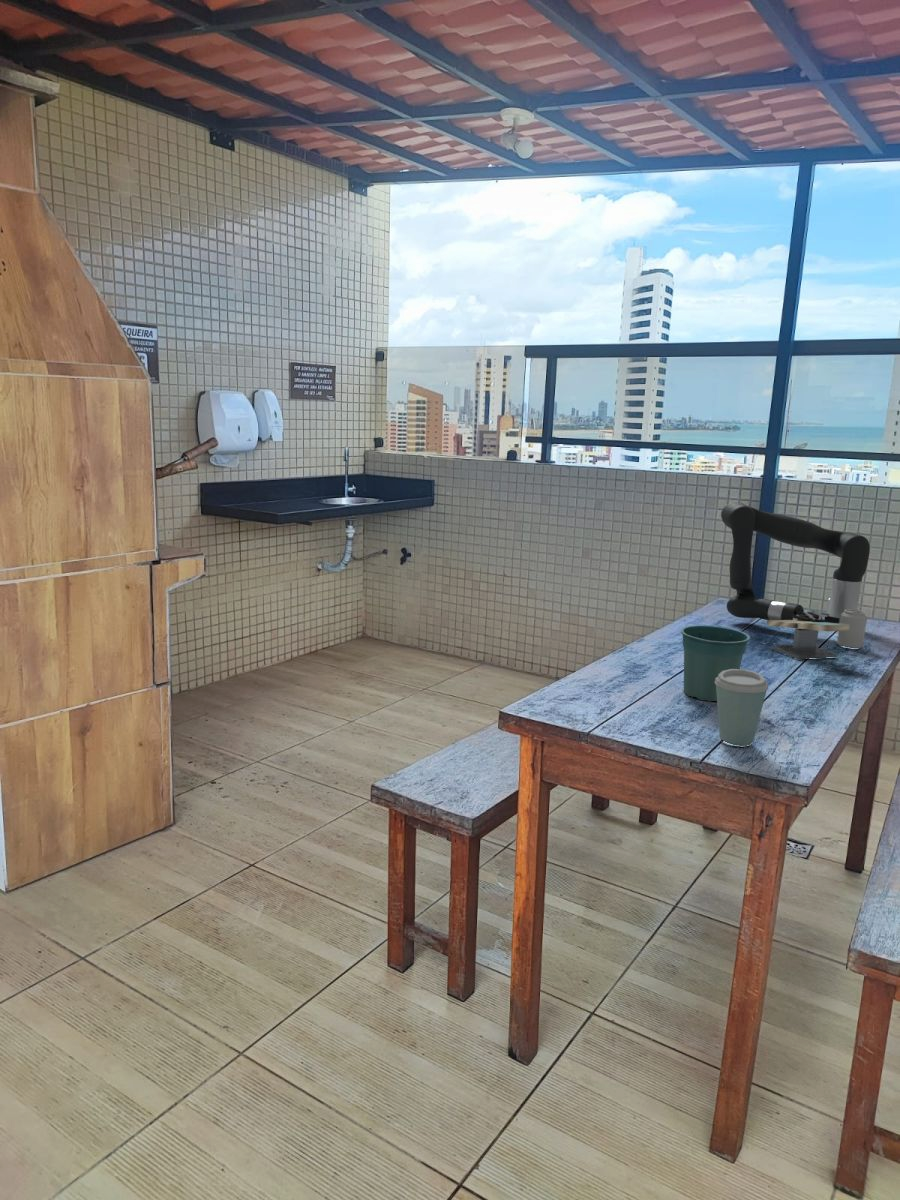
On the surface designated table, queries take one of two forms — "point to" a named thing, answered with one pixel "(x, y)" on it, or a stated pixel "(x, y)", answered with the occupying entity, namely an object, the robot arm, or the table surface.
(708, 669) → the flower pot
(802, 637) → the stand
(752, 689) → the disposable coffee cup
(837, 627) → the beam
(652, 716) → the table surface
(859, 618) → the can
